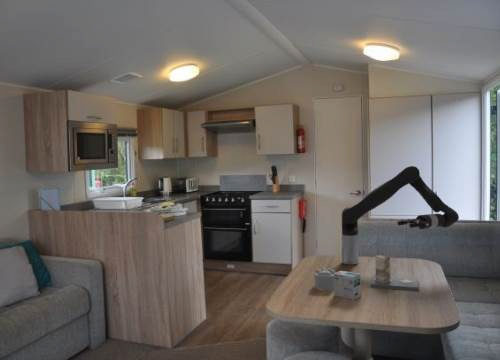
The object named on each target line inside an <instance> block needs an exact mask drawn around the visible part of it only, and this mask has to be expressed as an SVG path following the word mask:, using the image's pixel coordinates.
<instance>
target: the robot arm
mask: <svg viewBox="0 0 500 360" xmlns="http://www.w3.org/2000/svg"><path fill="white" fill-rule="evenodd" d="M420 174H421V173H420V169H419V168H418V167H417V166H414V165H408V166H406V167H404V169H403V170H401V171H400V172H399V173H397V174H396V175H395V176H394V177H393V178H391V179H389V180H387V181H385V182H384V183H382V184H381V185H379V186H378V187H376V188H374V189H373V190H371V191H370V192H369V193H368V194H367V195H366V196H365V197H363V198H362V199H361V201H359V202H358V203H355V204H354V205H352V206H351V207H350V206H348V207H345V208H344V209H343V210H342V211H341V238H342V239H341V241H342V245H341V263H342V264H345V265H357V264H359V227H358V220H359V219H361V218H362V217H363V216H364V215H365V214H367V213H368V212H371V211H372V210H374V209H376V208H378V207H379V206H381V205H382V204H384V203H385V202H387V201H389V200H390V199H391V198H392V197H393V196H394V195H395V194H396V193H397V192H398V191H400V190H401V189H402V188H403V187H405V186H407V185H408V184H409V185H410V187H412V188H413V189H415V191H416V192H417V193H418V194H419V195H420V197H421V198H422V199H423V200H424V201H425V202H426V204H427V205H428V206H429V208H431V210H432V211H433V212H434V213H431V214H430V213H426V214H420V215H417V216H416V218H406V219H405V218H403V219H402V218H401V219H400V220H398V221H397V226H407V227H409V228H410V229H412V228H418V229H420V230H427V229H432V228H438V227H440V228H449V227H451V226H452V225H454V224H455V223H457V222H458V221H459V219H460V216H459V214H458V212H457V211H456V210H454V209H453V208H452V207H451V206H449V205H447V204H446V203H445V202H444V201H443V200H442V198H440V197H439V196H438V195H437V193H436V192H434V190H432V189H431V188H430V186H428V185H427V184H426V183H425V181H424V180H423V178H422V176H421V175H420ZM439 212H442V213H443V214H441V213H439Z"/></svg>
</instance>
